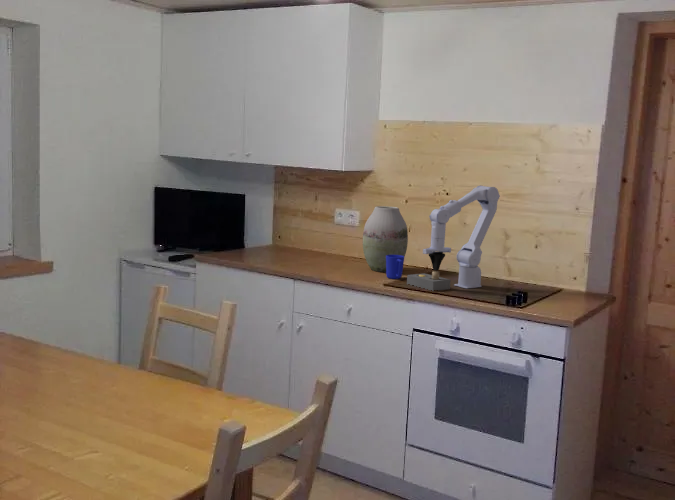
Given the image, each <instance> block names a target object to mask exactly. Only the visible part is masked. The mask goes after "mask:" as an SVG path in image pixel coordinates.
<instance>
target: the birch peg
mask: <svg viewBox="0 0 675 500" xmlns="http://www.w3.org/2000/svg"><path fill="white" fill-rule="evenodd" d="M431 275H432V279H433V280H439V277H440V271H438V270H437V271H436V270H433V271H432V272H431Z"/></svg>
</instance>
